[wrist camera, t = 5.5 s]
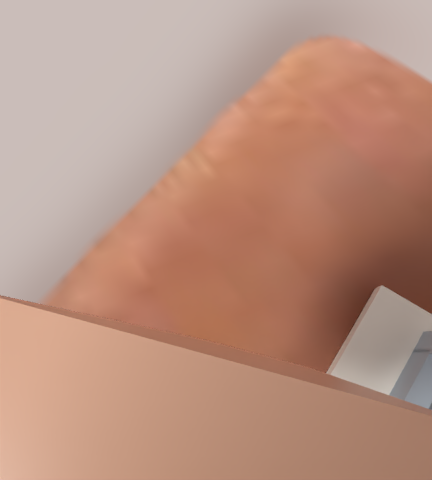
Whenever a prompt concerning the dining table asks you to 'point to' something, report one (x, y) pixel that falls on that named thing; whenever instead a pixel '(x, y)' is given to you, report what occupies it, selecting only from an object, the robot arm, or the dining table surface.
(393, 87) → the dining table surface
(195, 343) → the tall peach block
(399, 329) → the dock
